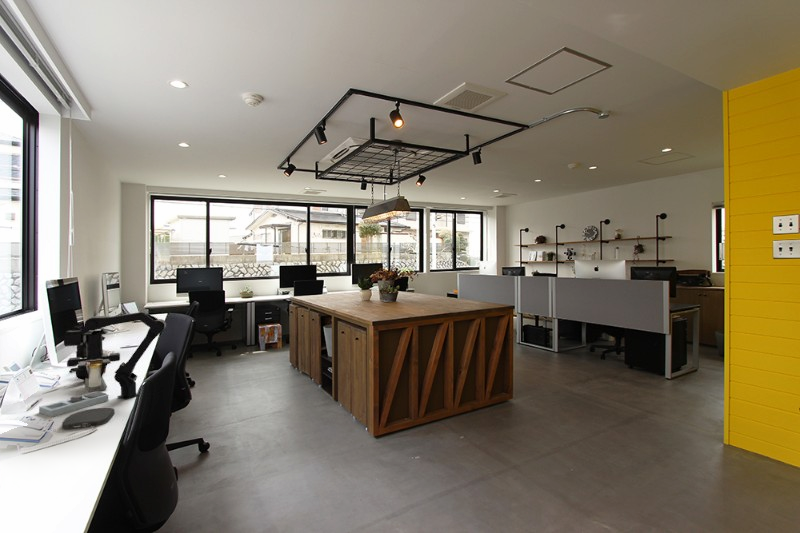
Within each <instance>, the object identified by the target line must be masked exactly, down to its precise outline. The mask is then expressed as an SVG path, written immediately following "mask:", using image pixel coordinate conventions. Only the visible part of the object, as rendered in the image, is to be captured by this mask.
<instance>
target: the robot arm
mask: <svg viewBox="0 0 800 533" xmlns="http://www.w3.org/2000/svg"><path fill="white" fill-rule="evenodd" d="M137 321H139V322H142V323H143V324H145V326H147V327H149V329H148V330H147V333H146V336H145V337H144V338H143V340H142V341H141V343H140V344H139V345H138V347H137V348H136V349H135V351H134V352H133V353H132V354H131V357H130V358H129V359H128V360H127V361H126V363H125V362H124V361H123V362H121V364H120V365H119V366H118V368H117V369H116V370H115V371H114V376H113V378H114V381H115V382H116V383H118V384H119V386H120V395H117V398H119V399H122V400H128V399H131V398H136V397H138V396H137V394H139V393H137V383H136V381H137V378H138V375H136V374H135V372H134V370H135V367H136V365H137V363H138V362H139V361H140V359H141V358H142V356H143V355H144V353H145V352H146V351H147V349H148V348H149V347H150V345H151V344H152V342H153V341H154V340H155V339H156V338H157V337H158V336H159V335H160V334H161V333H162V332H163V331H164V330H165V328H166V327H167V322H166V320H164V319H162V318H158V317H155V316H153V315H151V314H149V313H147V312H146V311H143V310H142V311H139V312H132V313H131V312H130V313H126V314H125V313H124V314H118V315H112V316H111V315H110V316H109V315H108V316H107V315H96V316H92V317H90V318H88V319H87V320H85V322H84V326H83V328H82V329H81V331H77V330H66V331H65V335H64V339H63V345H64V347H77V346H78V345H82V344H83V343H85V341H86V348H84V355H87V358H84V359H82V358H80V357H70V358H69V359H68V360H67V361H66V367H69V368H71V367H77V368H78V367H80V368H81V369H82V370H83V371H84V373H85V375H86V377H87V379H89V372H88V366H87V364H88V362H94V361H102V360H103V363H102V369H101V377H103V375H104V374H105V373H104V370H105V368H106V369H107V366H108V364H109V365H110V364H111V363H112V362H119V361H121V353H120V352H112V353H109V354H108V356H103V350H104V349H103V340H102V336H103V335H106V334H108V333H109V332H108V331H107V330H105V328H106V327H109V326H112V325H118V324H119V325H120V324H124V323H125V324H126V323H131V322H137ZM88 331H92V333H86V332H88Z"/></svg>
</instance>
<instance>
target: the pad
mask: <svg viewBox="0 0 800 533" xmlns="http://www.w3.org/2000/svg"><path fill="white" fill-rule="evenodd" d="M93 392H94V393H92V392H89V393H90V394H89V393H85V394H86V395H85V394H82V395H83V396H85V397H88V398H91V399H92V398H95V397H99V396H102V395H106V394H107V393H105V392H102V391H100V390H96V391H93Z"/></svg>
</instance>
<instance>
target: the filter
mask: <svg viewBox="0 0 800 533" xmlns="http://www.w3.org/2000/svg"><path fill="white" fill-rule="evenodd" d="M83 327H84V326H83ZM83 327H82V326H80V327H79V326H77V325H74V326H73V328H72V329H73V330H74V331H81V329H82V328H83ZM92 331H93V330H90V331H88V332H86V333H92ZM105 340H106V337H105V336H103V335H102V341H105ZM84 348H86V341H85V343H83V344H82V345H78V346H76V351H75V354H76V355H75V356H76V357H80V359H84V358H87V355H84ZM89 365H91V362H90V363H89V362H87V366H89ZM74 370H75V376H76V378H77V379H79V380H83V382H84V383H85V379H86V378H87V377H86V375H85V373H84V371H83V370H82V369H81V368H80V367H78V366H77V367H76V368H75V369H74ZM88 372H89V370H88Z"/></svg>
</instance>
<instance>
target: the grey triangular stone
mask: <svg viewBox="0 0 800 533" xmlns="http://www.w3.org/2000/svg"><path fill="white" fill-rule="evenodd" d="M88 370H89V368H88ZM84 388H85V389H86V390H87V391H88V392H95V391H100V390H102V391H105V390H106V389H108V385H107V383H106V381H105V379H104V378H103V376H102V377H101V385H100V386H97V387H89V379H87V378H86V379H85V382H84Z"/></svg>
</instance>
